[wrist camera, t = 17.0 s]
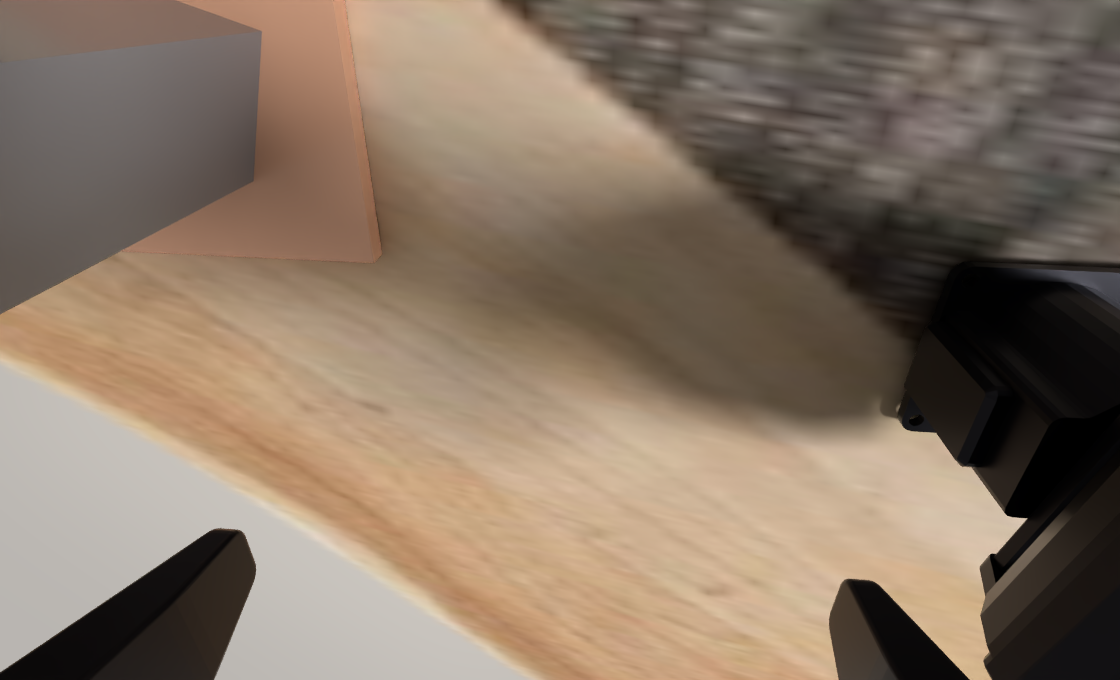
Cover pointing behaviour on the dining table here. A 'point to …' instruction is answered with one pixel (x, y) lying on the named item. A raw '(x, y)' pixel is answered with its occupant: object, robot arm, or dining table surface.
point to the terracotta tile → (292, 148)
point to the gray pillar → (114, 128)
